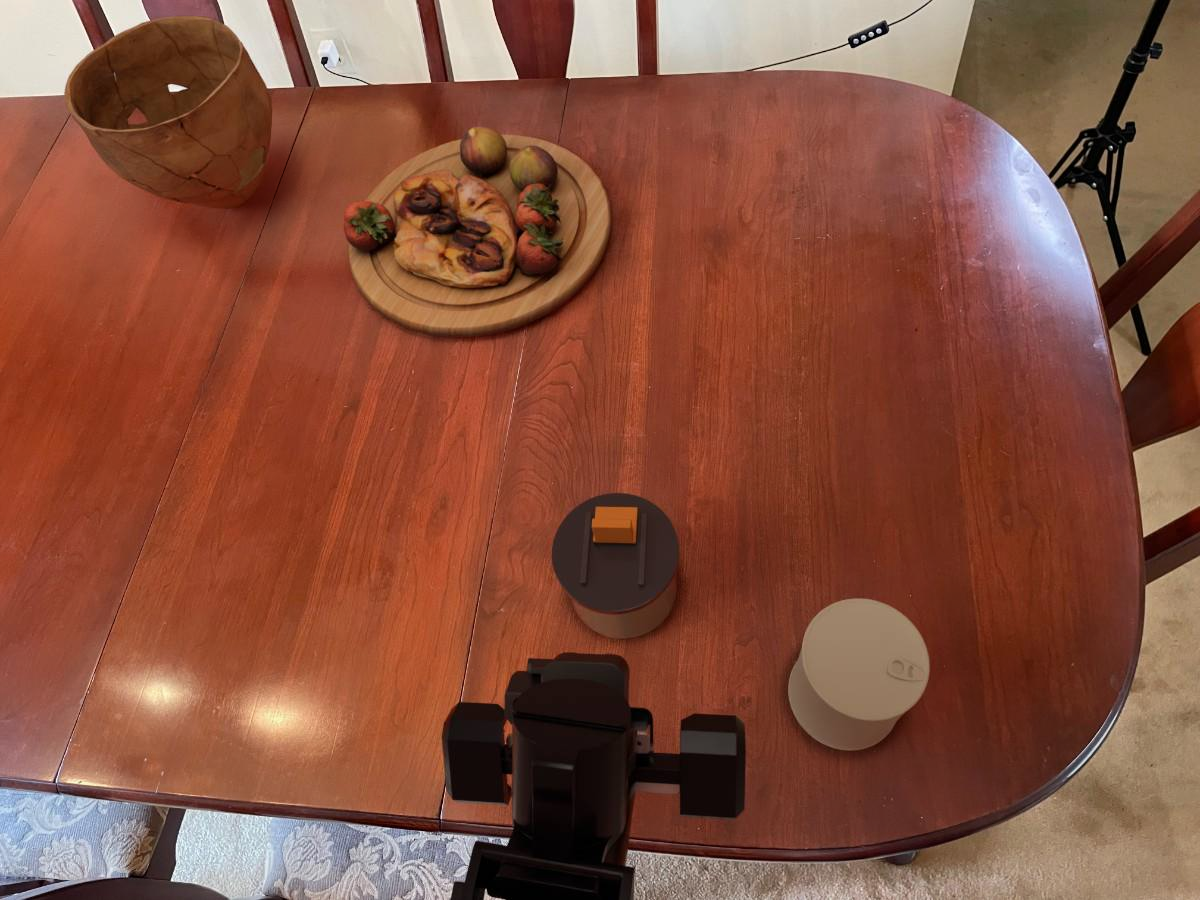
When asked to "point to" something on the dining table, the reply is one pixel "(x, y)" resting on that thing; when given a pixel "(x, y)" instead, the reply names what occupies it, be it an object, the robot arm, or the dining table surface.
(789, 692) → the can
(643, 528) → the round container with rails
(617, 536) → the slider
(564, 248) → the wooden plate
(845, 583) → the dining table surface
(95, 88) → the bowl
